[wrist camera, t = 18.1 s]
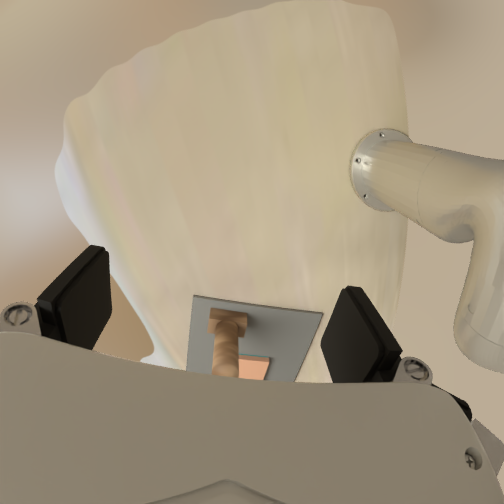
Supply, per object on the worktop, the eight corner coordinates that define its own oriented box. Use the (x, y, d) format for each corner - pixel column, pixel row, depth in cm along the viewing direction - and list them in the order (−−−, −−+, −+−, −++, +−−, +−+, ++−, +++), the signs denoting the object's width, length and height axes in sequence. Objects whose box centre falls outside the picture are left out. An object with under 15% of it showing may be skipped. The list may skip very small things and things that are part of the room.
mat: (321, 312, 49) (322, 314, 48) (285, 396, 58) (285, 398, 57) (193, 294, 46) (193, 296, 45) (185, 386, 55) (184, 388, 55)
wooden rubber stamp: (247, 311, 47) (250, 368, 35) (243, 327, 48) (245, 385, 36) (210, 305, 46) (203, 363, 34) (208, 322, 48) (201, 380, 36)
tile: (269, 362, 50) (257, 394, 54) (268, 356, 51) (257, 388, 55) (225, 357, 49) (219, 390, 53) (226, 351, 50) (219, 384, 54)
